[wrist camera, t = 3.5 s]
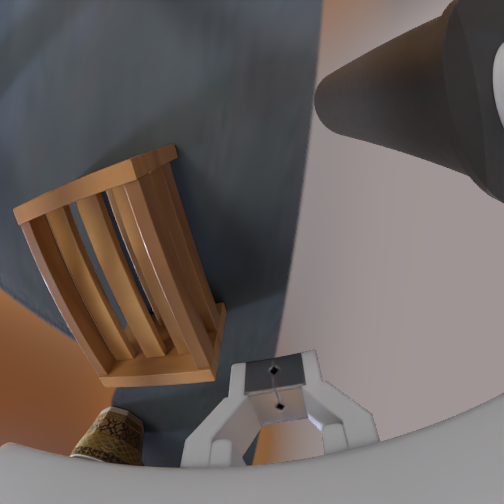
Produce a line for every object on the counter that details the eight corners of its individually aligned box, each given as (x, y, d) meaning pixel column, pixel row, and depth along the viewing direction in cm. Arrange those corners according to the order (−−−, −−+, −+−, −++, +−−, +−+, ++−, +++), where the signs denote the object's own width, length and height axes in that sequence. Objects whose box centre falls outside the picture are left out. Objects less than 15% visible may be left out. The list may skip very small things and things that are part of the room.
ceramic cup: (81, 407, 39) (58, 457, 29) (116, 391, 36) (91, 450, 27) (143, 452, 43) (129, 500, 33) (184, 441, 40) (173, 497, 31)
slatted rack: (174, 143, 24) (130, 158, 15) (227, 312, 30) (215, 381, 22) (75, 179, 25) (12, 209, 17) (135, 326, 31) (105, 387, 23)
